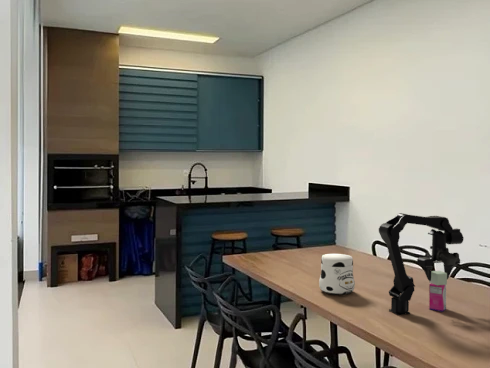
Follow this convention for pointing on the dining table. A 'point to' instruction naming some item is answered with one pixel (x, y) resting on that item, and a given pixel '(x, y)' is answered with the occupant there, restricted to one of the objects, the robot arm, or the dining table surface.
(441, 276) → the sage cube
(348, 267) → the milk container
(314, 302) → the dining table surface
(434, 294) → the supplement box
